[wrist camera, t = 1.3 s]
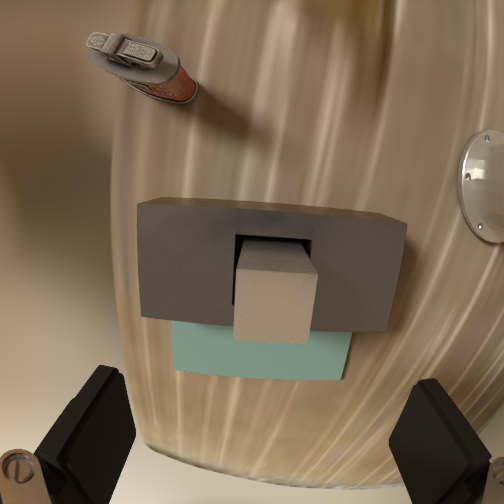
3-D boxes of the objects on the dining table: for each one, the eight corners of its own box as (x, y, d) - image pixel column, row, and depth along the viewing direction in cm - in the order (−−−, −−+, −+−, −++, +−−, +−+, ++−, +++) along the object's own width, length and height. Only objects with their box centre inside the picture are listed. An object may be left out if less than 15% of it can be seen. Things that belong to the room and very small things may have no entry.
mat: (353, 312, 29) (356, 315, 28) (338, 375, 31) (340, 380, 30) (172, 300, 29) (170, 303, 28) (176, 365, 31) (174, 369, 30)
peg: (294, 231, 27) (318, 274, 16) (289, 276, 28) (307, 344, 17) (247, 228, 27) (236, 268, 16) (244, 273, 28) (233, 340, 17)
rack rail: (379, 213, 26) (407, 224, 21) (364, 303, 29) (385, 331, 23) (162, 197, 27) (137, 203, 21) (162, 290, 29) (141, 316, 23)
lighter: (119, 85, 24) (62, 54, 14) (136, 55, 23) (86, 15, 14) (188, 112, 25) (149, 82, 15) (206, 81, 24) (178, 36, 14)
